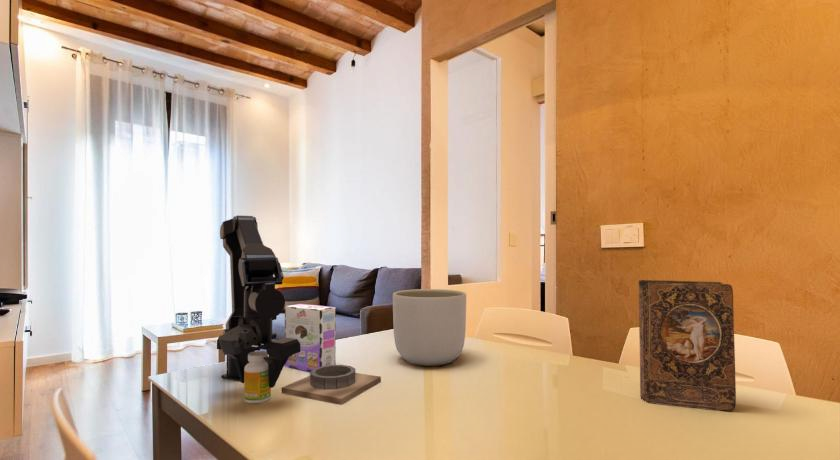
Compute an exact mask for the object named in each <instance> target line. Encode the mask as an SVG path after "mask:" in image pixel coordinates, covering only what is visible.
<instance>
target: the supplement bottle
mask: <svg viewBox="0 0 840 460" xmlns="http://www.w3.org/2000/svg"><path fill="white" fill-rule="evenodd" d="M267 356H269V355H268V354H267V351H264V350H260V351H258V350H257V351H255V352H251V353H249V354H248V361H249V363H248V364H246V366H245V368H244V383H243V388H244V389H243V401H244V402H245V403H248V404H260V403H264V402H267V401H269V400H270V399H271V397H272V388H269V381H268V363H267V362H266V361H265V360H264V357H267Z"/></svg>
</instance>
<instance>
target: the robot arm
mask: <svg viewBox="0 0 840 460" xmlns="http://www.w3.org/2000/svg"><path fill="white" fill-rule="evenodd" d="M219 237H220V240H222V247H223V249H224V250H225V252H226V253H227V254H228V255H229V264H230V291H231V295H230V296H231V314H230V315H229V316H228V318H227V321H226V322H225V328H224V329H223V332H222V335H219V337H217V340H216V350H221V353H222V354H223V356H226V373H224V374H222V375H220V377H221V378H223V379H227V380H233V381H238V382H239V381H240V382H241V383H242V384H244V368H245V366H246V364H248V363H249V361H248V354H249V353H251V352H256V351H261V350H263V351H264V350H266V352H267V354H268V356H267V357H264V360H265V361H266V362H267V363H268V381H269V388H271V389H272V388H274V387H275V386H276V385H277V381H278V380H279V378H280V375H281V374H282V373H281V372H282V371H283V370H284V367H285V363H286V362H287V360H288V358H289V357H290V356H292V355H293V354H296V353H299V352H300V342H299V340H298V339H293V338H285V337H282V338H279V339H277V333H273V321H274V320H277V316H279V315H280V314H281V313H282V312H283V311H284V310H285V306H286V299H285V297H284V295H283V293H282V292H281V291H280V290H278V289H276V286H279V285H283V280H284V273H283V269H282V266H281V263H280V262H279V258H278V257H276V254H275V252H274V251H273V249H272V248H270V247H268V246H267V245H264V242H263V240H262V238H261V235H260V231H259V228H258V222H257V218H256V217H255V216H254V215H235V216H233V217H232V218H230V219H227V220H224V221H223V222H222V223H221V225H220V227H219ZM274 339H275V340H274Z"/></svg>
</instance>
